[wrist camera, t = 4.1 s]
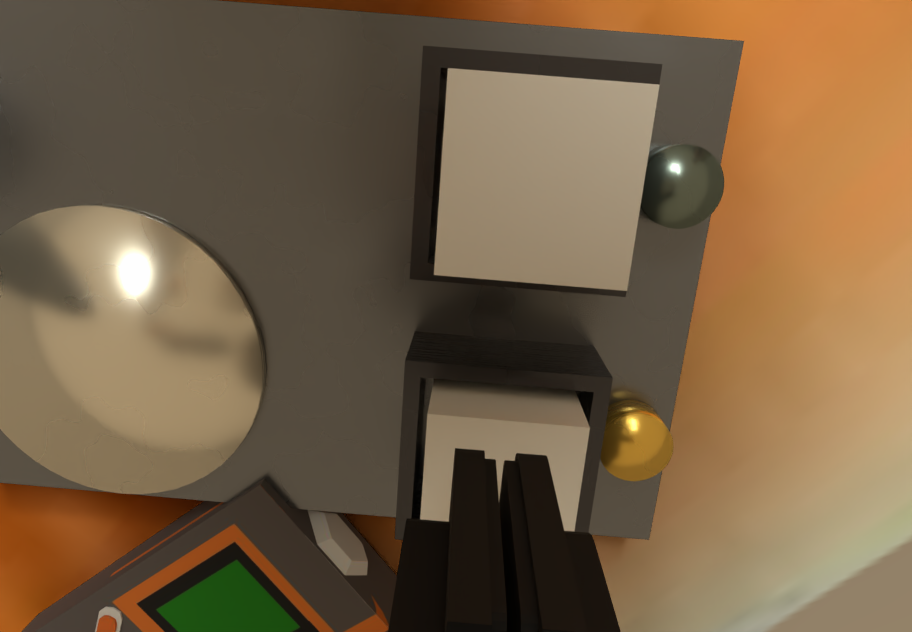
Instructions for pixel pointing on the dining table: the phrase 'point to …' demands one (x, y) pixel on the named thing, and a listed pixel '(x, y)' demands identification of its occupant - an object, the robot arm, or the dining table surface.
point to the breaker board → (311, 253)
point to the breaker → (542, 178)
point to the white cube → (503, 437)
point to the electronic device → (237, 576)
